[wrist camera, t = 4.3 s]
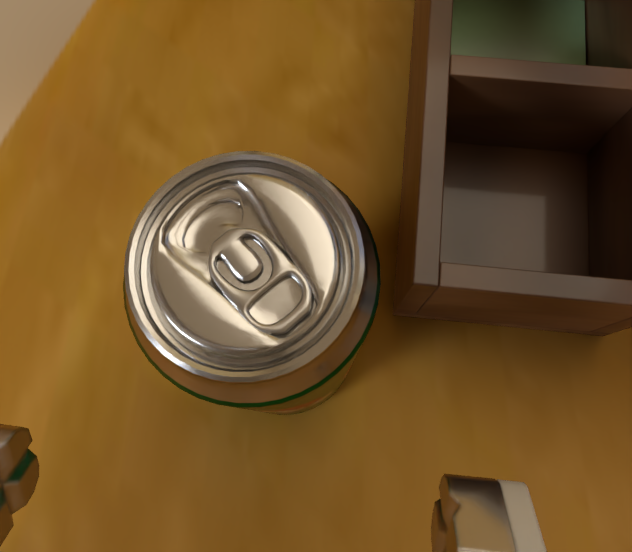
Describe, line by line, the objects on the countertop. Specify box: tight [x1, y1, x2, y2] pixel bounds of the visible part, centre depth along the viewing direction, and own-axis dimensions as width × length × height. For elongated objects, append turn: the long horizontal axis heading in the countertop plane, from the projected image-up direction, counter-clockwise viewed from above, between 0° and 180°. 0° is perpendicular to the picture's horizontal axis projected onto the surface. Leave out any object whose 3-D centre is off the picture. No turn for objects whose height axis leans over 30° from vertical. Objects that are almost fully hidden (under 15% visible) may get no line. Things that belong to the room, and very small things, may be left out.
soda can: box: [123, 151, 381, 415], centre depth 16 cm, size 5×5×12 cm
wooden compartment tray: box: [393, 0, 632, 336], centre depth 22 cm, size 8×23×5 cm, turn 174°
